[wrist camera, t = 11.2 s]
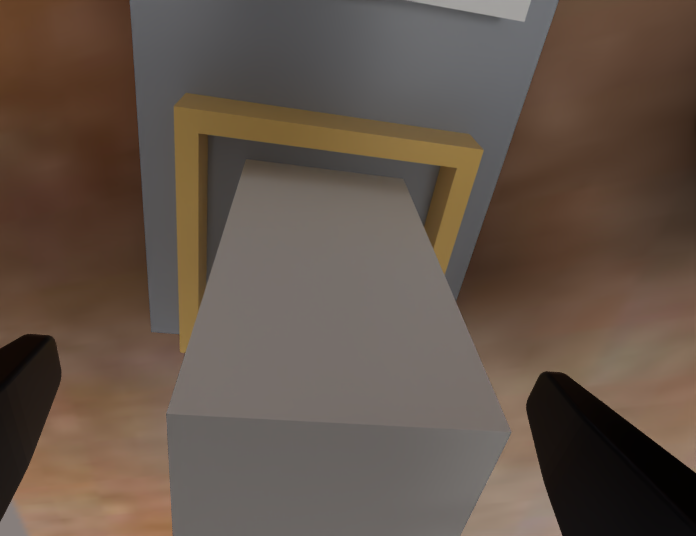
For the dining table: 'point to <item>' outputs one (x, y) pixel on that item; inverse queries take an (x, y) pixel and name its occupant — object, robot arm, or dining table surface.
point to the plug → (328, 371)
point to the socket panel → (322, 114)
